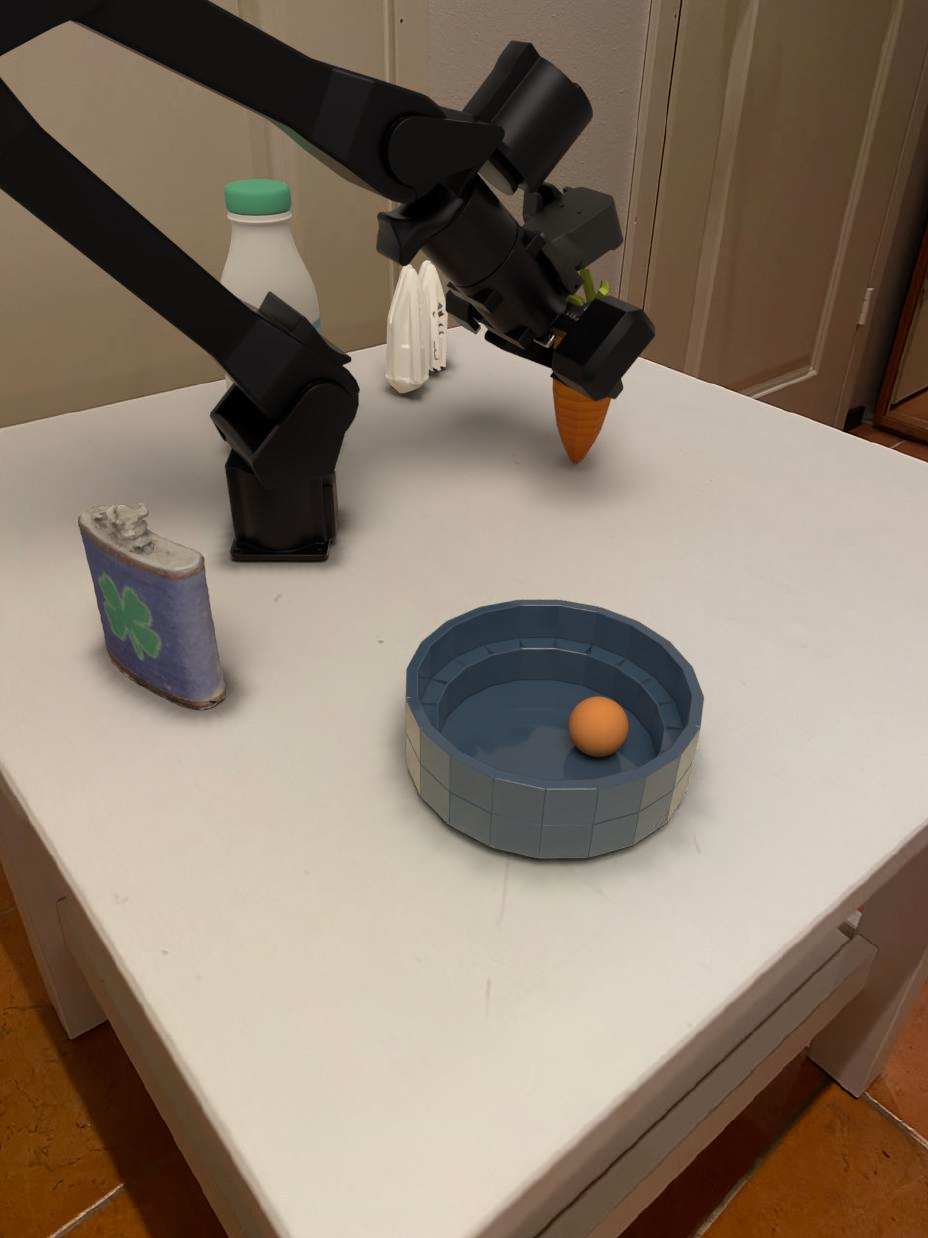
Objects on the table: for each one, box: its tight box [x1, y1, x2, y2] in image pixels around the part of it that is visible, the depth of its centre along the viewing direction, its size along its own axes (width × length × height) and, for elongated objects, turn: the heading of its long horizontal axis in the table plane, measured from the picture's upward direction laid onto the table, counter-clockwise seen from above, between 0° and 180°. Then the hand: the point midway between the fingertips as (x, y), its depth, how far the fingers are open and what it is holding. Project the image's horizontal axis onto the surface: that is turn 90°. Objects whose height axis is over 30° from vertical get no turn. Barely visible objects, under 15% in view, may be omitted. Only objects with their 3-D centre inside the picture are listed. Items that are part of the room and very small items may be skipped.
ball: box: [568, 697, 629, 757], centre depth 47 cm, size 3×3×3 cm
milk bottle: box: [219, 178, 323, 391], centre depth 71 cm, size 8×8×20 cm
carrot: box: [552, 268, 612, 465], centre depth 71 cm, size 5×5×15 cm
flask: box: [77, 502, 227, 711], centre depth 50 cm, size 9×3×11 cm, turn 51°
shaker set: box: [384, 259, 449, 394], centre depth 87 cm, size 12×4×11 cm, turn 167°
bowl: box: [404, 599, 705, 859], centre depth 46 cm, size 14×14×5 cm
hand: (597, 382), depth 72 cm, fingers closed on carrot, 5 cm apart
